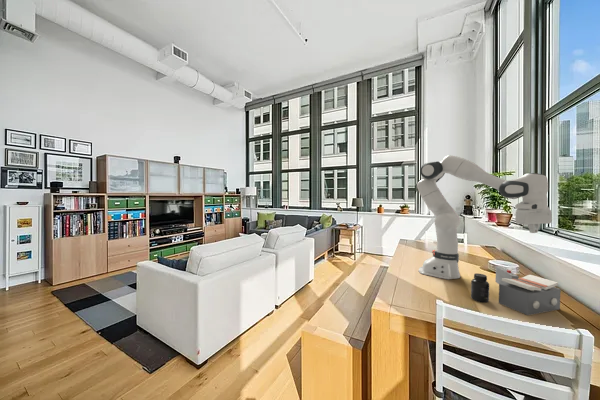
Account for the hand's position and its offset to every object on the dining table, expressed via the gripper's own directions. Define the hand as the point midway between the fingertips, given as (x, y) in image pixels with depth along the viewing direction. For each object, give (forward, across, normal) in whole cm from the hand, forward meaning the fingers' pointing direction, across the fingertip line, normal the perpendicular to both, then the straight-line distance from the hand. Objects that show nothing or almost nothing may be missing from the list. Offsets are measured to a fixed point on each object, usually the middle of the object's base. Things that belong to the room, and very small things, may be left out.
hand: (533, 232), depth 116 cm
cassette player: (+31, +4, -9) cm, 33 cm away
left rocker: (+22, +23, +9) cm, 33 cm away
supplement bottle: (+31, +32, -1) cm, 45 cm away
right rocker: (+22, +12, +9) cm, 27 cm away
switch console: (+31, +17, +9) cm, 37 cm away
